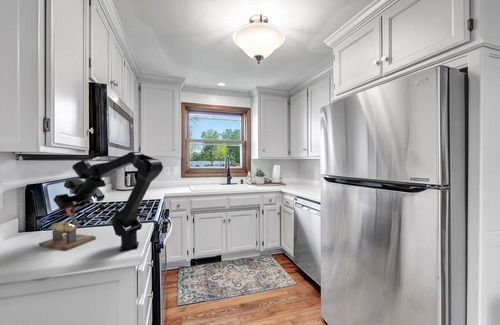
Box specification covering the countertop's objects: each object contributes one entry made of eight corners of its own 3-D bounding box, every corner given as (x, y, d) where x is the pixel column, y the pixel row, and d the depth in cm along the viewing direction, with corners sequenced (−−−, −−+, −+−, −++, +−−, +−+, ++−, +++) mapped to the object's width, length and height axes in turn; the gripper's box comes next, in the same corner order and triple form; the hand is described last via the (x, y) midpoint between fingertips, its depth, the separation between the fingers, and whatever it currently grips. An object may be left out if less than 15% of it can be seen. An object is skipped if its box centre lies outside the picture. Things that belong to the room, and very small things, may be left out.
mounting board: (95, 239, 101) (95, 236, 101) (67, 250, 90) (67, 247, 90) (69, 235, 106) (69, 233, 106) (39, 246, 95) (39, 243, 94)
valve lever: (80, 224, 101) (70, 202, 102) (76, 225, 100) (66, 203, 101) (77, 226, 102) (67, 204, 103) (73, 227, 100) (63, 205, 101)
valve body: (83, 238, 99) (82, 220, 98) (67, 244, 93) (66, 224, 92) (65, 236, 102) (64, 218, 101) (48, 242, 96) (47, 222, 95)
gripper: (98, 171, 108) (82, 193, 111) (55, 175, 90) (37, 201, 94) (112, 188, 106) (95, 210, 110) (71, 196, 88) (52, 222, 92)
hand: (72, 210), depth 101 cm, fingers closed, pressing on valve lever
